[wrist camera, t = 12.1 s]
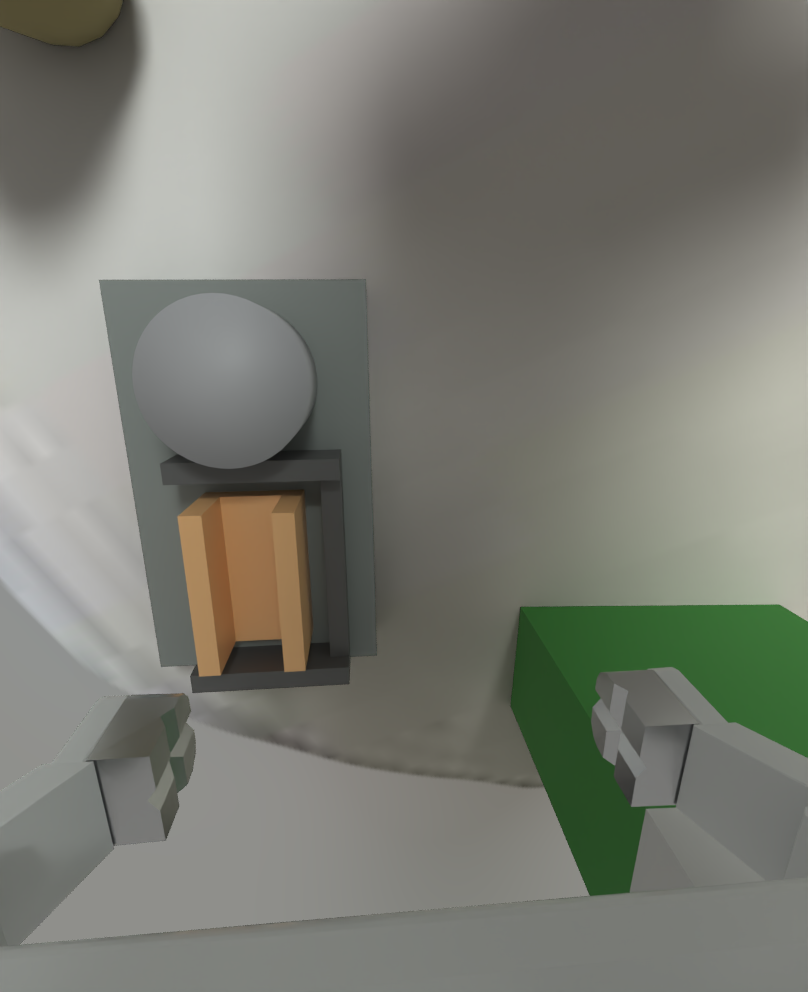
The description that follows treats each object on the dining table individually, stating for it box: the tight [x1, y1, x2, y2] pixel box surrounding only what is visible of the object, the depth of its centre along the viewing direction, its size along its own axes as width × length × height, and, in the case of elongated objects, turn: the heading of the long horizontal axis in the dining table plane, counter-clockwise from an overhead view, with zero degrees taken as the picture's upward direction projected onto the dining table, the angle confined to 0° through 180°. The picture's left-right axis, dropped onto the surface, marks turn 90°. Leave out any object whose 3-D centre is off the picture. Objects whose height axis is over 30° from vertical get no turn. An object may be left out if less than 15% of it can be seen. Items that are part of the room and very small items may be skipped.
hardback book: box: [511, 605, 808, 896], centre depth 23 cm, size 18×7×24 cm, turn 88°
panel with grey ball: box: [99, 279, 377, 693], centre depth 26 cm, size 20×12×7 cm, turn 1°
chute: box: [177, 490, 313, 677], centre depth 25 cm, size 8×5×4 cm, turn 0°
